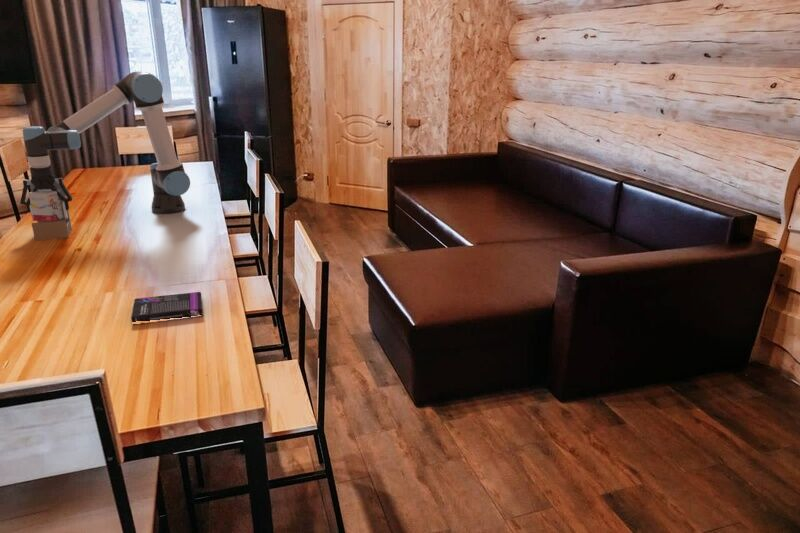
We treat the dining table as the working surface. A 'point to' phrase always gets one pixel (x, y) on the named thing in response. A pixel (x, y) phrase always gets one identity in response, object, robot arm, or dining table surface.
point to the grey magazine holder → (52, 224)
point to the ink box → (46, 205)
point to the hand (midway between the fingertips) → (50, 218)
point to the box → (167, 307)
